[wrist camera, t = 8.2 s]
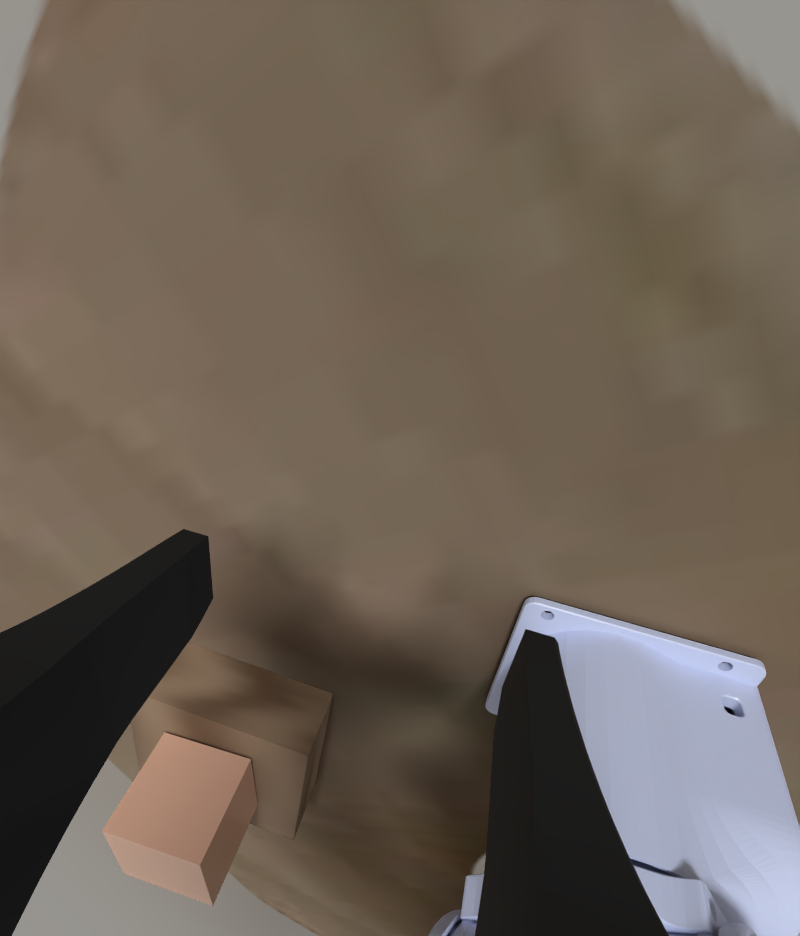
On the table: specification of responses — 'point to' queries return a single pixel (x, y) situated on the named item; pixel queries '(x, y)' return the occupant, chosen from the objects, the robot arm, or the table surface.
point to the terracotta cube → (184, 817)
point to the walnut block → (243, 727)
